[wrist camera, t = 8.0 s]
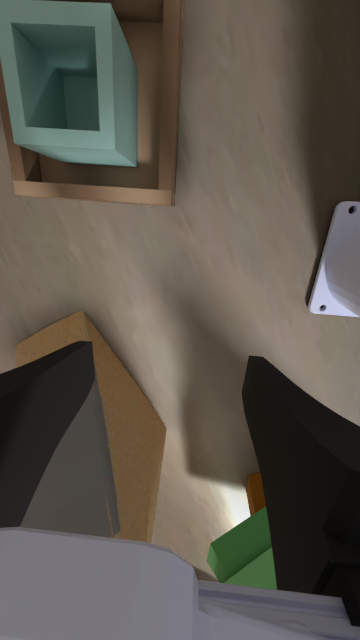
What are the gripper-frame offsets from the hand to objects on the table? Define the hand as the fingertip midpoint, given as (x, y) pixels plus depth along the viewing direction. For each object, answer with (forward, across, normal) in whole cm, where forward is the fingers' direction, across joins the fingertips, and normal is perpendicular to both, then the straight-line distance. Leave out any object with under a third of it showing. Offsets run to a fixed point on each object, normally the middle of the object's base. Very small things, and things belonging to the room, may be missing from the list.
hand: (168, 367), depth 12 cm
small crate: (+9, +6, -12) cm, 16 cm away
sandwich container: (+10, +8, +10) cm, 16 cm away
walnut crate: (+10, +6, -12) cm, 17 cm away
